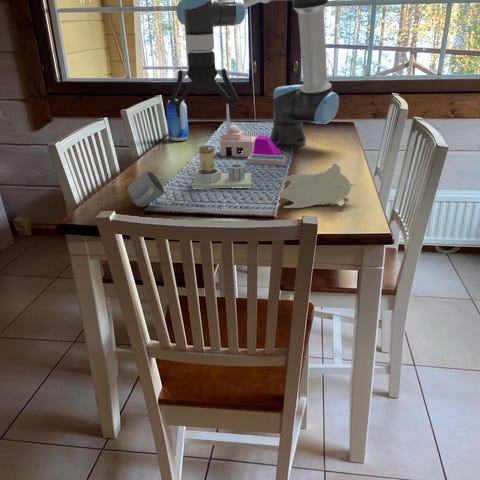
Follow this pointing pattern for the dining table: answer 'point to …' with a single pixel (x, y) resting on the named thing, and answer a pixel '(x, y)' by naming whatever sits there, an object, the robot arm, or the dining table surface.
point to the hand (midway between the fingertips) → (206, 127)
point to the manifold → (223, 178)
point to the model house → (250, 147)
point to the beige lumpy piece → (316, 188)
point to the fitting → (207, 159)
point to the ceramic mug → (145, 189)
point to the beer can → (176, 123)
